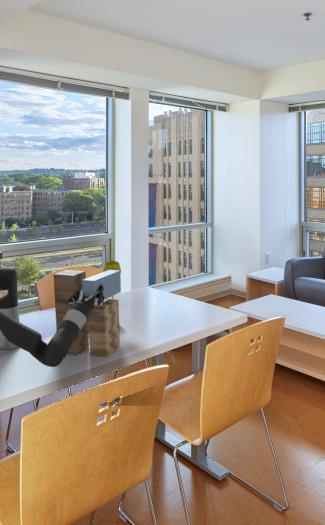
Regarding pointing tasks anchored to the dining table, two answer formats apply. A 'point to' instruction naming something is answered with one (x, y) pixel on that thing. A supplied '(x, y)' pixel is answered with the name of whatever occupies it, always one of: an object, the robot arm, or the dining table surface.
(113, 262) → the flower
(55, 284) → the pedestal
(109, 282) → the rail
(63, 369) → the dining table surface
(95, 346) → the step
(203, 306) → the dining table surface
